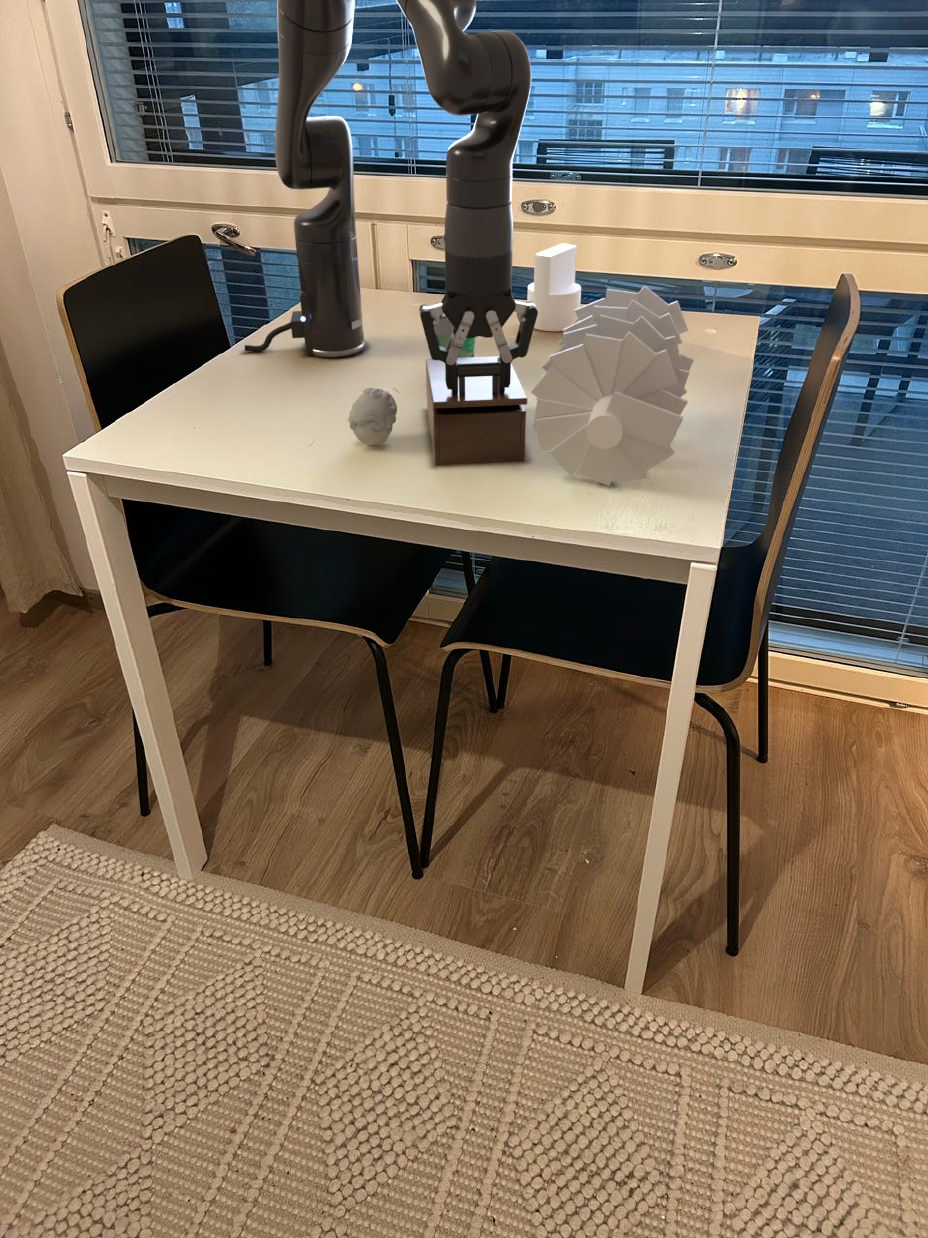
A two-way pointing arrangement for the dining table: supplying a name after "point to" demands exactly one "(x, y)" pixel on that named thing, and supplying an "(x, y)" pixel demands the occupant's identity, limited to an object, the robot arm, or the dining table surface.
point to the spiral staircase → (615, 388)
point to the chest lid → (473, 384)
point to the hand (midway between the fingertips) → (478, 390)
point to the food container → (443, 337)
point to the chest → (476, 433)
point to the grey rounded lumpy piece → (373, 416)
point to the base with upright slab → (555, 288)
